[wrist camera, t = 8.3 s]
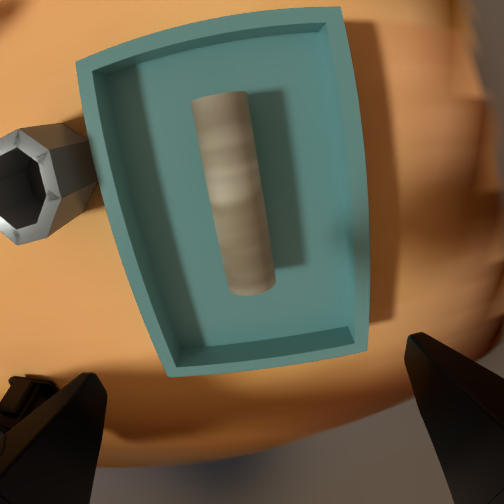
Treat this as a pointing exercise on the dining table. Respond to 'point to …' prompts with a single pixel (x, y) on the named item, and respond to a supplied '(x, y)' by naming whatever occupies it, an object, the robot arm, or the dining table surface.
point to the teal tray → (272, 179)
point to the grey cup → (43, 180)
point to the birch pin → (235, 190)
